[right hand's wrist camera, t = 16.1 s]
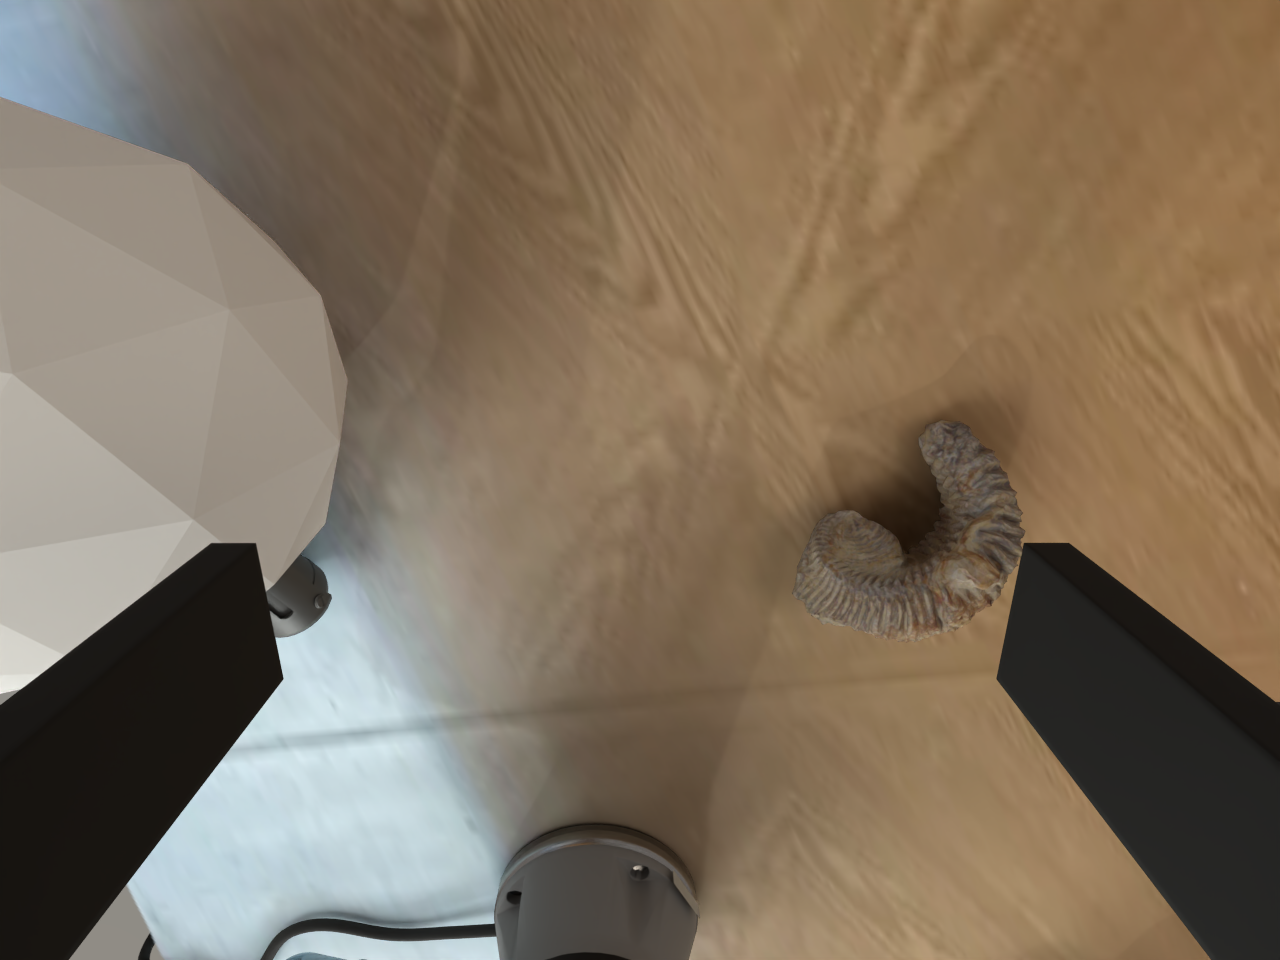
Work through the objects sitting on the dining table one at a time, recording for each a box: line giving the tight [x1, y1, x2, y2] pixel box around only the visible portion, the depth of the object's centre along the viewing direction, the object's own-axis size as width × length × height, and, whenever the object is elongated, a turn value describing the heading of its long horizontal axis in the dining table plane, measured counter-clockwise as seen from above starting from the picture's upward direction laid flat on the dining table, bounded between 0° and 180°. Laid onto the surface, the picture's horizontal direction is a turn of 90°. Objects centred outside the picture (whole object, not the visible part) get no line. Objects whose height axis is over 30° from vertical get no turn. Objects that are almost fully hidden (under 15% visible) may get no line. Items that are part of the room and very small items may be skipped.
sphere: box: [0, 97, 348, 694], centre depth 33 cm, size 23×30×24 cm
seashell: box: [792, 420, 1025, 642], centre depth 42 cm, size 14×10×10 cm
